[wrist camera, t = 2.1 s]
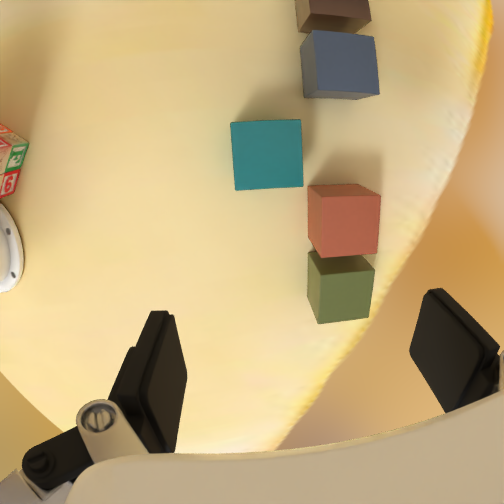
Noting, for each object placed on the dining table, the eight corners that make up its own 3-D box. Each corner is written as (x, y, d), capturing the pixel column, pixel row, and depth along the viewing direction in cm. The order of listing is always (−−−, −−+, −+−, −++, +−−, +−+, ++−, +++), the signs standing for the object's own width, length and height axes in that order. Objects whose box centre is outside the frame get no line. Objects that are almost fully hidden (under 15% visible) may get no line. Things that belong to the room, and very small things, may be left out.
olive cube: (307, 252, 29) (320, 275, 24) (355, 248, 29) (375, 269, 25) (307, 296, 31) (317, 324, 26) (352, 292, 31) (368, 317, 26)
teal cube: (235, 180, 26) (235, 191, 22) (231, 124, 24) (230, 122, 20) (292, 177, 26) (303, 186, 22) (289, 122, 24) (300, 119, 20)
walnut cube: (293, -11, 19) (303, -35, 15) (344, -6, 19) (362, -27, 15) (298, 32, 21) (310, 13, 17) (350, 36, 21) (371, 20, 17)
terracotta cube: (307, 185, 27) (321, 196, 22) (358, 184, 27) (381, 195, 22) (307, 237, 29) (321, 258, 24) (356, 234, 29) (377, 253, 24)
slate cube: (299, 46, 22) (312, 29, 17) (352, 50, 22) (374, 36, 17) (303, 97, 24) (317, 90, 19) (356, 99, 24) (380, 94, 19)
